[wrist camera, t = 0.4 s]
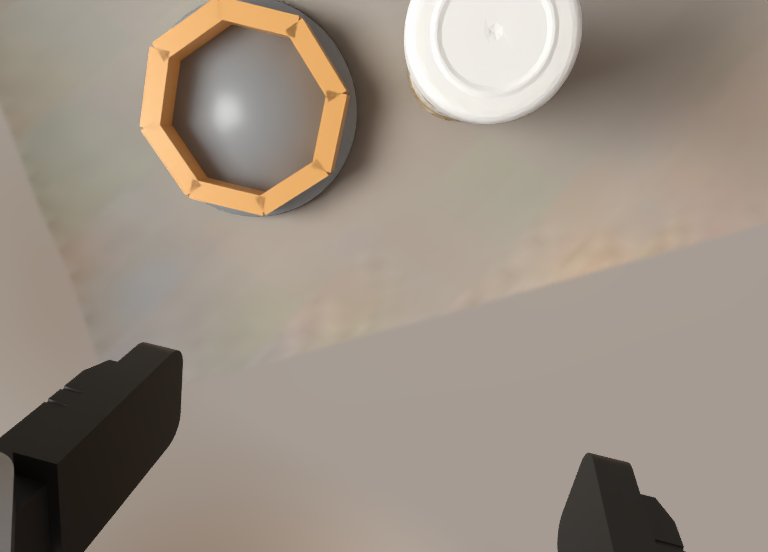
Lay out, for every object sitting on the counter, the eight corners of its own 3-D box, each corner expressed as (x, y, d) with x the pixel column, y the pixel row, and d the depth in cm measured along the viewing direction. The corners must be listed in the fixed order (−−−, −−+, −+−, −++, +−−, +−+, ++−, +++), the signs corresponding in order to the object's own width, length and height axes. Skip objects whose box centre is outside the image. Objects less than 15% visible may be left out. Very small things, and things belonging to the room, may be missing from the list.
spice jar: (418, 130, 29) (422, 141, 16) (399, 29, 28) (386, -45, 15) (514, 109, 29) (598, 103, 16) (498, 6, 27) (574, -91, 14)
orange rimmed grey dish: (165, -26, 28) (146, -37, 26) (378, 27, 28) (375, 20, 26) (138, 188, 30) (119, 193, 28) (333, 235, 30) (327, 243, 29)
